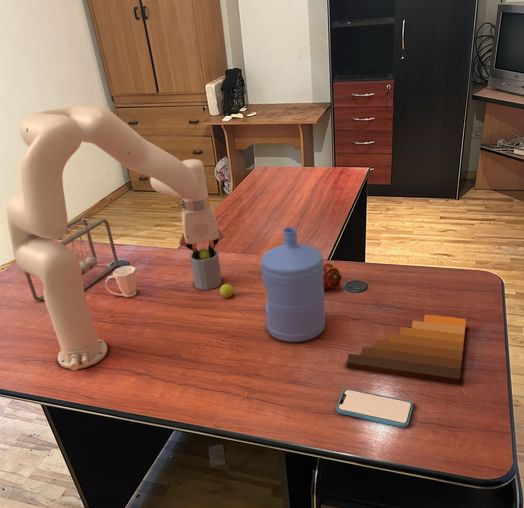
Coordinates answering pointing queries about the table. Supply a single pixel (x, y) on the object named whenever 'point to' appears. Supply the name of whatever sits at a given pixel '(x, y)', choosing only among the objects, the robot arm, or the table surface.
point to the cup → (125, 280)
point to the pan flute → (418, 351)
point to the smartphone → (375, 407)
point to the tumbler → (206, 272)
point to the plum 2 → (226, 290)
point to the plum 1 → (204, 254)
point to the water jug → (294, 290)
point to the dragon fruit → (331, 276)
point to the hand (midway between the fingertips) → (204, 260)
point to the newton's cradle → (89, 261)
